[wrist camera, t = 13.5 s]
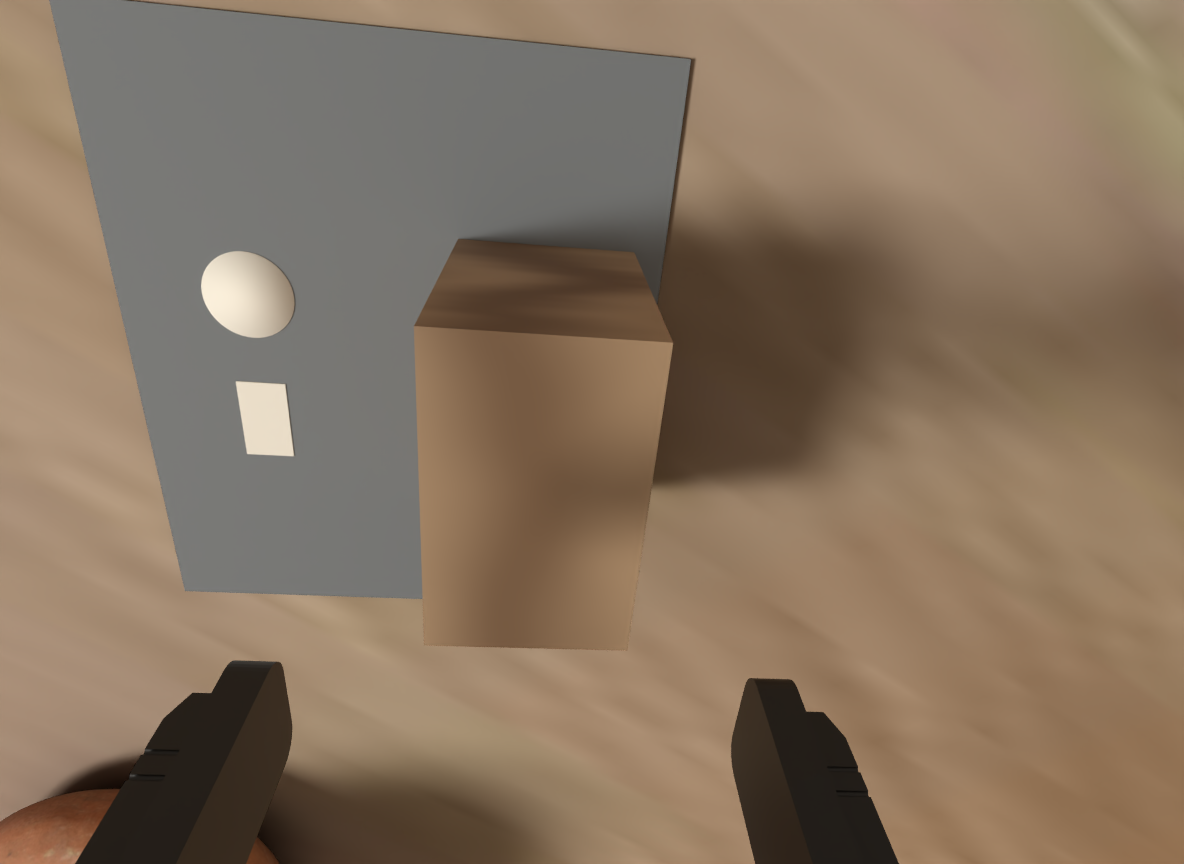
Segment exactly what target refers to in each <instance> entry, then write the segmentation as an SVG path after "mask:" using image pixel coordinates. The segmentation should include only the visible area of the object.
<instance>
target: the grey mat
mask: <svg viewBox="0 0 1184 864" xmlns="http://www.w3.org/2000/svg"><path fill="white" fill-rule="evenodd" d="M49 1H50V5H51V10H52V14H53V18H54V23H55V27H56V31H57V36H58V40H59V44H60V49H61V53H62V57H63V62H64V66H65V70H66V75H67V79H68V84H69V88H70V92H71V97H72V101H73V105H74V110H75V114H76V118H77V123H78V127H79V131H80V136H81V140H82V144H83V149H84V153H85V158H86V162H87V166H88V171H89V175H90V179H91V184H92V188H93V192H94V197H95V201H96V205H97V210H98V214H99V218H100V223H101V227H102V232H103V236H104V240H105V245H106V249H107V253H108V258H109V262H110V266H111V271H112V275H113V279H114V284H115V288H116V292H117V297H118V301H119V306H120V310H121V314H122V319H123V323H124V327H125V332H126V336H127V340H128V345H129V349H130V353H131V358H132V362H133V366H134V371H135V375H136V379H137V384H138V388H139V393H140V397H141V401H142V406H143V410H144V414H145V419H146V423H147V427H148V432H149V436H150V440H151V445H152V449H153V453H154V458H155V462H156V467H157V471H158V475H159V480H160V484H161V488H162V493H163V497H164V501H165V506H166V510H167V514H168V519H169V523H170V527H171V532H172V536H173V541H174V545H175V549H176V554H177V558H178V562H179V567H180V571H181V575H182V580H183V584H184V588H185V591H200V592H230V593H260V594H290V595H320V596H350V597H380V598H410V599H423V595H422V564H421V533H420V502H419V471H418V439H417V408H416V377H415V346H414V325H415V323H416V321H417V319H418V317H419V315H420V313H421V311H422V309H423V307H424V305H425V303H426V301H427V299H428V297H429V295H430V293H431V291H432V289H433V287H434V285H435V283H436V281H437V279H438V278H439V276H440V274H441V272H442V270H443V268H444V266H445V264H446V262H447V260H448V258H449V256H450V254H451V252H452V250H453V248H454V246H455V244H456V242H457V240H458V239H465V240H479V241H492V242H505V243H518V244H532V245H545V246H558V247H571V248H585V249H598V250H611V251H624V252H634V253H635V255H636V258H637V260H638V262H639V265H640V267H641V269H642V272H643V274H644V276H645V278H646V281H647V283H648V285H649V288H650V290H651V292H652V295H653V297H654V299H655V302H656V304H657V303H658V296H659V289H660V282H661V274H662V267H663V260H664V253H665V245H666V238H667V231H668V224H669V216H670V209H671V202H672V195H673V187H674V180H675V173H676V166H677V158H678V151H679V144H680V137H681V129H682V122H683V115H684V108H685V100H686V93H687V86H688V78H689V71H690V64H691V59H685V58H675V57H665V56H656V55H646V54H636V53H627V52H617V51H608V50H598V49H588V48H579V47H569V46H559V45H550V44H540V43H531V42H521V41H511V40H502V39H492V38H482V37H473V36H463V35H453V34H444V33H434V32H425V31H415V30H405V29H396V28H386V27H376V26H367V25H357V24H347V23H338V22H328V21H319V20H309V19H299V18H290V17H280V16H270V15H261V14H251V13H241V12H232V11H222V10H213V9H203V8H193V7H184V6H174V5H164V4H155V3H145V2H136V1H126V0H49Z"/></svg>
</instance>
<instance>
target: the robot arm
mask: <svg viewBox="0 0 1184 864" xmlns="http://www.w3.org/2000/svg"><path fill="white" fill-rule="evenodd" d="M291 739H292V720H291V713H290V707H289V701H288V695H287V689H286V683H285V676H284V670H283V667H282V664H281V663H280V662H266V661H232V662H230V663H229V664H228V665H227V667H226V668H225V670H224V671H223V673H222V675H221V677H220V679H219V680H218V682H217V684H216V686H215V688H214V689H213V691H212V693H192V694H191V695H190V696H188V697H187V698H186V699H185V700H184V701H183V702H182V703H181V704H179V705H178V706H177V707H176V708H175V709H174V710H173V711H171V712H170V713H169V714H168V715H167V716H166V717H165V718H164V719H163V720H162V722H161V723H160V725H159V727H158V728H157V730H156V732H155V733H154V735H153V737H152V738H151V740H150V741H149V743H148V745H147V746H146V748H145V753H144V755H141V756H140V758H139V759H138V761H137V763H136V764H135V766H134V768H133V769H132V771H131V773H130V777H129V780H128V781H125V782H124V784H123V786H122V787H121V789H120V791H119V792H118V794H117V796H116V797H115V799H114V800H113V802H112V804H111V805H110V807H109V809H108V810H107V812H106V814H105V815H104V817H103V819H102V820H101V822H100V823H99V825H98V827H97V828H96V830H95V832H94V833H93V835H92V837H91V838H90V840H89V841H88V843H87V845H86V846H85V848H84V850H83V851H82V853H81V855H80V856H79V858H78V860H77V861H76V863H75V864H246V863H247V860H248V858H249V855H250V853H251V850H252V848H253V845H254V843H255V840H256V838H257V835H258V833H259V830H260V827H261V825H262V822H263V820H264V817H265V815H266V812H267V810H268V807H269V805H270V802H271V800H272V797H273V795H274V792H275V790H276V787H277V784H278V782H279V779H280V777H281V774H282V772H283V769H284V767H285V764H286V761H287V758H288V755H289V751H290V746H291ZM731 758H732V768H733V774H734V778H735V782H736V786H737V790H738V795H739V799H740V803H741V807H742V811H743V815H744V819H745V823H746V828H747V832H748V836H749V840H750V844H751V848H752V852H753V856H754V860H755V864H899V863H898V861H897V858H896V856H895V854H894V851H893V849H892V846H891V844H890V842H889V839H888V837H887V835H886V832H885V830H884V828H883V825H882V823H881V820H880V818H879V816H878V813H877V811H876V809H875V806H874V804H873V801H872V799H871V797H869V796H868V790H867V787H866V785H865V783H864V780H863V778H862V775H861V773H859V772H858V766H857V764H856V761H855V759H854V756H853V754H852V752H851V749H850V747H849V745H848V742H847V740H846V738H845V737H844V735H843V734H842V733H841V732H840V731H839V730H838V728H837V727H836V726H835V725H834V724H833V723H832V722H831V720H830V719H829V718H828V717H827V716H826V715H825V714H824V712H806V710H805V708H804V705H803V702H802V700H801V697H800V694H799V692H798V689H797V687H796V685H795V683H794V682H793V681H792V680H789V679H758V678H749V679H748V680H747V682H746V685H745V688H744V692H743V696H742V700H741V704H740V708H739V712H738V716H737V720H736V724H735V728H734V732H733V736H732V744H731Z"/></svg>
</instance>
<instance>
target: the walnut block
mask: <svg viewBox="0 0 1184 864" xmlns="http://www.w3.org/2000/svg"><path fill="white" fill-rule="evenodd" d="M414 346H415V377H416V408H417V439H418V471H419V502H420V533H421V564H422V595H423V627H424V645H429V646H469V647H508V648H547V649H586V650H625V651H627V649H628V642H629V635H630V629H631V622H632V615H633V609H634V602H635V595H636V589H637V582H638V575H639V569H640V562H641V555H642V549H643V542H644V535H645V528H646V522H647V515H648V508H649V502H650V495H651V488H652V482H653V475H654V468H655V462H656V455H657V448H658V442H659V435H660V428H661V422H662V415H663V408H664V402H665V395H666V388H667V382H668V375H669V368H670V361H671V355H672V348H673V341H672V339H671V336H670V334H669V332H668V329H667V327H666V325H665V322H664V320H663V318H662V315H661V313H660V311H659V309H658V306H657V304H656V302H655V299H654V297H653V295H652V292H651V290H650V288H649V285H648V283H647V281H646V278H645V276H644V274H643V272H642V269H641V267H640V265H639V262H638V260H637V258H636V255H635V253H634V252H624V251H611V250H598V249H585V248H571V247H558V246H545V245H532V244H518V243H505V242H492V241H479V240H465V239H458V240H457V242H456V244H455V246H454V248H453V250H452V252H451V254H450V256H449V258H448V260H447V262H446V264H445V266H444V268H443V270H442V272H441V274H440V276H439V278H438V279H437V281H436V283H435V285H434V287H433V289H432V291H431V293H430V295H429V297H428V299H427V301H426V303H425V305H424V307H423V309H422V311H421V313H420V315H419V317H418V319H417V321H416V323H415V325H414Z"/></svg>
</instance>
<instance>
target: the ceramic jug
mask: <svg viewBox="0 0 1184 864" xmlns="http://www.w3.org/2000/svg"><path fill="white" fill-rule="evenodd" d="M119 791H120V789H98V790H86V791H79V792H73V793H68V794H64V795H60V796H56V797H52V798H49V799H46V800H43V801H40V802H37V803H35V804H32V805H30V806H28V807H25V808H23V809H21V810H19V811H17V812H15V813H13V814H12V815H10V816H9V817H7V818H5V819H4V820H2V821H1V822H0V864H75V863H76V861H77V860H78V858H79V856H80V855H81V853H82V851H83V850H84V848H85V846H86V845H87V843H88V841H89V840H90V838H91V837H92V835H93V833H94V832H95V830H96V828H97V827H98V825H99V823H100V822H101V820H102V819H103V817H104V815H105V814H106V812H107V810H108V809H109V807H110V805H111V804H112V802H113V800H114V799H115V797H116V796H117V794H118V792H119ZM246 864H279V862H278V860H277V859H276V858H275V856H274V855H273V853H272V852H271V851H270V850H269V849H268V848H267V847H266V846H265V844H264V843H263V842H262V841H261V840H260V839H259V838H258V837H257V838H256V840H255V843H254V845H253V848H252V850H251V853H250V855H249V858H248V860H247V863H246Z"/></svg>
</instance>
